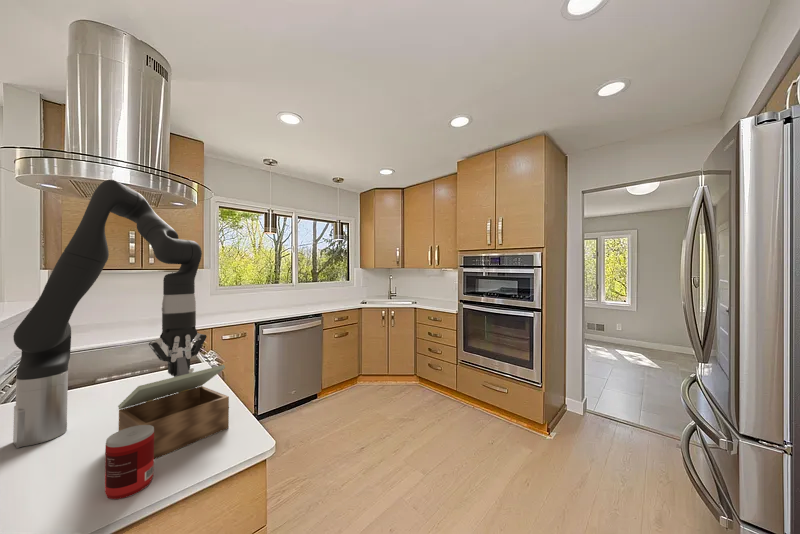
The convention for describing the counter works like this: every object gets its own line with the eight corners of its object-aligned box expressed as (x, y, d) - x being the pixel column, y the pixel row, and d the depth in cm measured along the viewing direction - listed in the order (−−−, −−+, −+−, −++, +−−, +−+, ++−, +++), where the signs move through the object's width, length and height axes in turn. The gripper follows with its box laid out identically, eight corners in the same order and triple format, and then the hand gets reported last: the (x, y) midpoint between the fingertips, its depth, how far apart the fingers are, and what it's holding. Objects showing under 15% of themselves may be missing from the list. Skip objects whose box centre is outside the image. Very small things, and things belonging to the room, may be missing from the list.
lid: (139, 390, 72) (134, 366, 73) (118, 409, 79) (115, 387, 81) (225, 367, 89) (220, 348, 90) (201, 385, 96) (197, 367, 98)
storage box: (141, 465, 70) (142, 426, 70) (118, 444, 79) (118, 410, 79) (228, 427, 87) (228, 396, 87) (201, 414, 96) (201, 385, 96)
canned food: (148, 469, 69) (149, 420, 69) (157, 485, 63) (158, 432, 64) (101, 488, 63) (102, 434, 63) (107, 506, 58) (108, 448, 58)
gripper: (154, 314, 75) (153, 384, 75) (212, 308, 87) (213, 369, 86) (142, 313, 79) (142, 379, 79) (200, 307, 91) (200, 365, 90)
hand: (179, 373), depth 83 cm, fingers closed on lid, 2 cm apart
